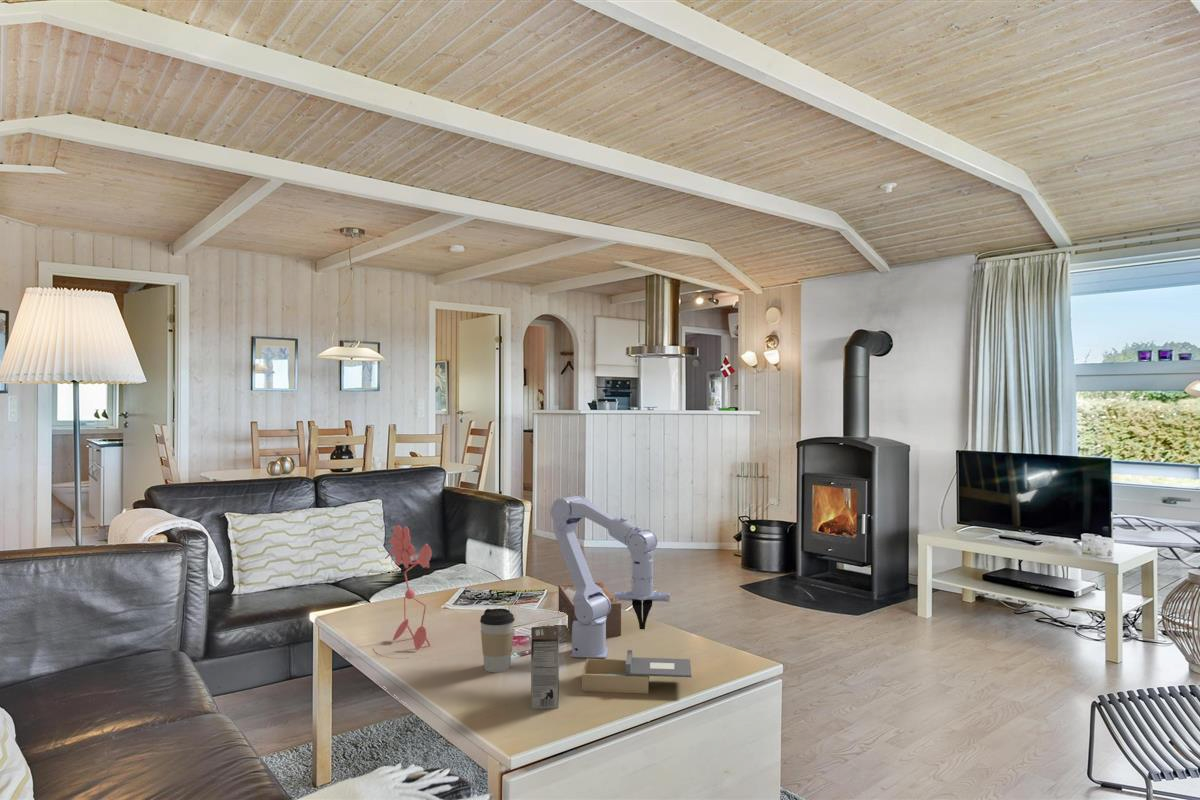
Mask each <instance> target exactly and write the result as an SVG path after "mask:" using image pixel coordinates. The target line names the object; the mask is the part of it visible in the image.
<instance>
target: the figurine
mask: <svg viewBox="0 0 1200 800" xmlns="http://www.w3.org/2000/svg"><path fill="white" fill-rule="evenodd" d="M392 531H393V534H394V535H393V536H391V537H390V539H389V544H390V545H391V546H392V550H391V551H390V552H389V553H388V554H387V556H385V558H384V559H385V560H386V559H388V558H389V557H390V556H391V555H392V554H393V556H394V560H395V564H396V566H400V565H401V564H403V566H404V568H405V569H406V570H404V573H403V575H404V578H405V583H406V589H407V590H406V591H405V593H404V595H405V596H404V598H403V608H404V609H403V612H404V613H403V614H404V620H403V621H402V623H400V625H399V626H398V627H397V629H396V631H395V633H394V636H393V638H392V641H393V642H394V641H396V640H398V638H399V637H401V636H402V635H403V634H404V633H408V632H410V636H411V637H412V639H413V645H414V647H415V650H416V651H419V650H420V648H421V647H422V646H423V645H424V644H425V642H426V644H427V645H428V647H431V646H432V645H431V643H430V641H429V639H428V637H427V629H426V627H425V626H424V622H425V621H424V620H425V613H426V609H427V605H426V604H424V603H423V602H421V601H420V600H419V599H417V598H415V595H416V593H415V591H414V590H413V589H411V588H410V587H409V583H408V576H407V572H408V571H410V570H411V569H413V568H414V567H416V566H417V565H420V566H421V567H422V568H423V569H425V568H427V569H430V560H431V557H432V549H431V546H430V545H429V544H428V543H425V544H424V545H423V546H422V547H421V548H420V551H419V552H418V557H416V556H415V553H416V548H415V546H414V545H413V544H412V543H411V539H412V538H411V536H410V530H409V526H407V525H405V526H404V527H403V529H402V527H401V526H400V525H399V524H396V526H395V527H393V529H392ZM411 556H412V557H413V559H414V560H415V561H412V557H411ZM409 565H411V566H410V567H409ZM406 599H408V600H411V599H413V600H415V601H416V602H418V603H419V604H421V605H422V606H424V609H423V613H422V620H421V624H420V626H419V627H418V628H417V630H416V631H415V632H414V633H413V630H412V629H411V627H410V625H409V621H410V620H409V618H408V619H407V616H406V614H407V613H406V609H407V608H406ZM406 629H408V630H409V631H405V630H406Z"/></svg>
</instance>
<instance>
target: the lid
mask: <svg viewBox="0 0 1200 800" xmlns="http://www.w3.org/2000/svg"><path fill="white" fill-rule="evenodd" d="M625 660H626V664H625V675H635V676H649V677H663V678H665V677H669V678H692V666H691V665H692V664H691V658H670V657H668V658H665V657H660V658H659V657H638V656H637V657H636V656H634V657H633V650H632V649H628V650H627V652H626V658H625Z"/></svg>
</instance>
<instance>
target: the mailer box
mask: <svg viewBox="0 0 1200 800" xmlns="http://www.w3.org/2000/svg"><path fill="white" fill-rule="evenodd" d="M625 664H626V659H615V658H614V659H613V658H611V659H608V658H586V661H585V664H584V665H583V670H582V674H581V691H582V692H598V693H599V692H602V693H603V692H604V693H623V694H624V693H625V694H626V693H629V694H649V684H650V676H635V675H625Z"/></svg>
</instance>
